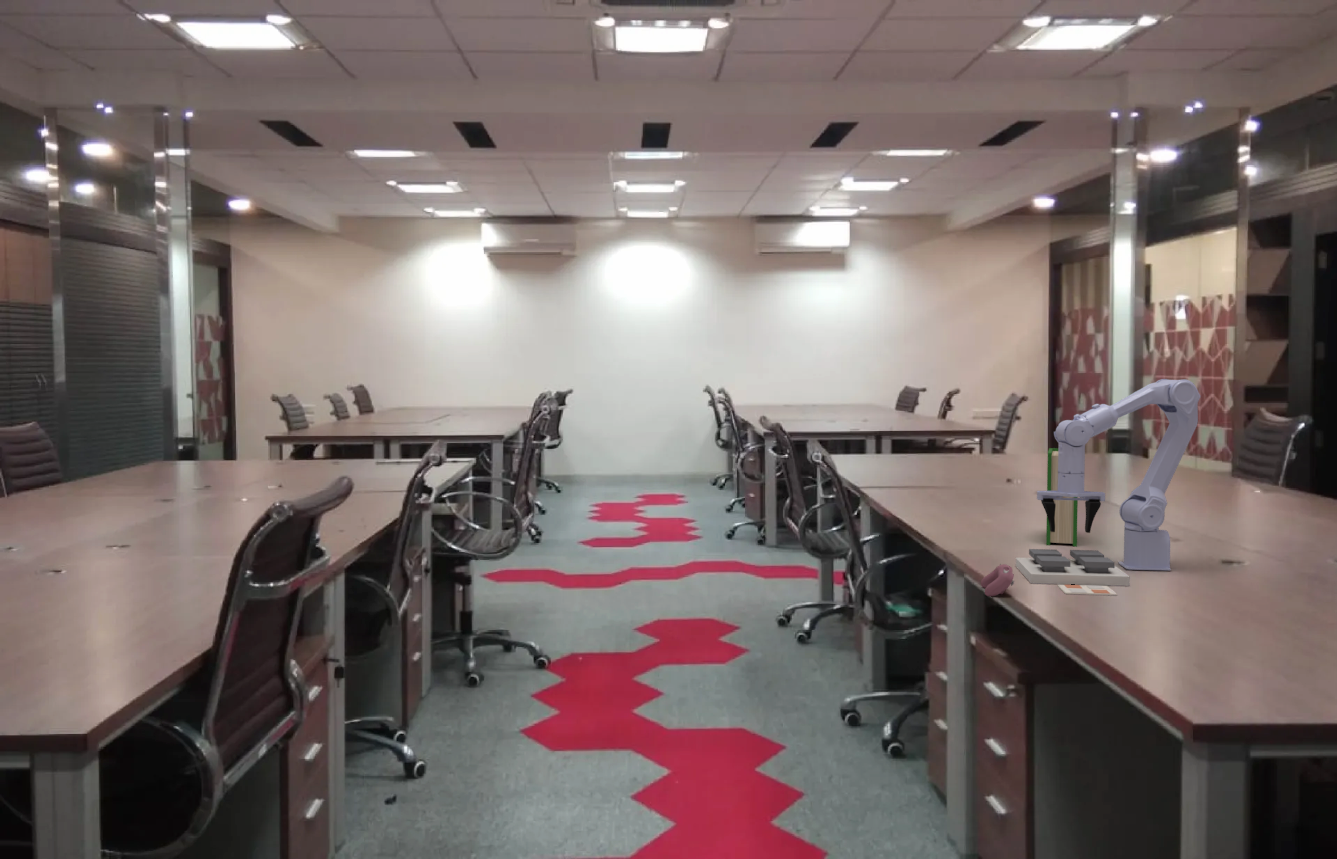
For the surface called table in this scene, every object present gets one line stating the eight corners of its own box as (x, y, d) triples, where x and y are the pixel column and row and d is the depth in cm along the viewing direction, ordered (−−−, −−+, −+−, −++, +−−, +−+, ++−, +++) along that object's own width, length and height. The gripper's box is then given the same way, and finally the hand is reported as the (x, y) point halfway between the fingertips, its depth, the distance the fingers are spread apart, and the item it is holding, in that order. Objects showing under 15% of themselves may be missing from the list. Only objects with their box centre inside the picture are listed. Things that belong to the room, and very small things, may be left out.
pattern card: (1107, 587, 222) (1107, 585, 222) (1117, 595, 214) (1117, 593, 214) (1057, 586, 224) (1057, 584, 224) (1065, 594, 216) (1065, 592, 216)
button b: (1056, 562, 242) (1056, 549, 242) (1061, 567, 236) (1061, 554, 236) (1028, 562, 243) (1029, 548, 243) (1033, 567, 237) (1033, 553, 237)
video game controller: (1003, 605, 213) (1020, 575, 212) (982, 594, 214) (999, 564, 213) (998, 594, 223) (1014, 566, 222) (978, 584, 223) (994, 555, 222)
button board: (1106, 568, 243) (1106, 559, 243) (1129, 586, 223) (1129, 576, 223) (1015, 566, 246) (1015, 557, 246) (1031, 583, 226) (1031, 574, 226)
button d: (1064, 570, 233) (1064, 556, 233) (1070, 575, 227) (1070, 561, 227) (1036, 569, 234) (1036, 555, 234) (1041, 574, 228) (1041, 560, 228)
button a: (1097, 563, 241) (1097, 550, 241) (1103, 568, 235) (1104, 555, 235) (1069, 563, 242) (1070, 549, 242) (1075, 568, 236) (1075, 554, 236)
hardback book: (1076, 546, 272) (1078, 453, 271) (1046, 545, 275) (1047, 453, 273) (1076, 536, 289) (1078, 448, 287) (1047, 535, 291) (1049, 448, 290)
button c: (1107, 571, 232) (1107, 557, 232) (1114, 576, 226) (1114, 562, 226) (1078, 570, 233) (1078, 556, 233) (1084, 576, 227) (1085, 561, 227)
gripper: (1040, 473, 239) (1039, 533, 240) (1108, 475, 236) (1107, 535, 237) (1035, 470, 246) (1034, 528, 247) (1101, 471, 243) (1100, 530, 244)
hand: (1069, 531), depth 242 cm, fingers open, 7 cm apart
